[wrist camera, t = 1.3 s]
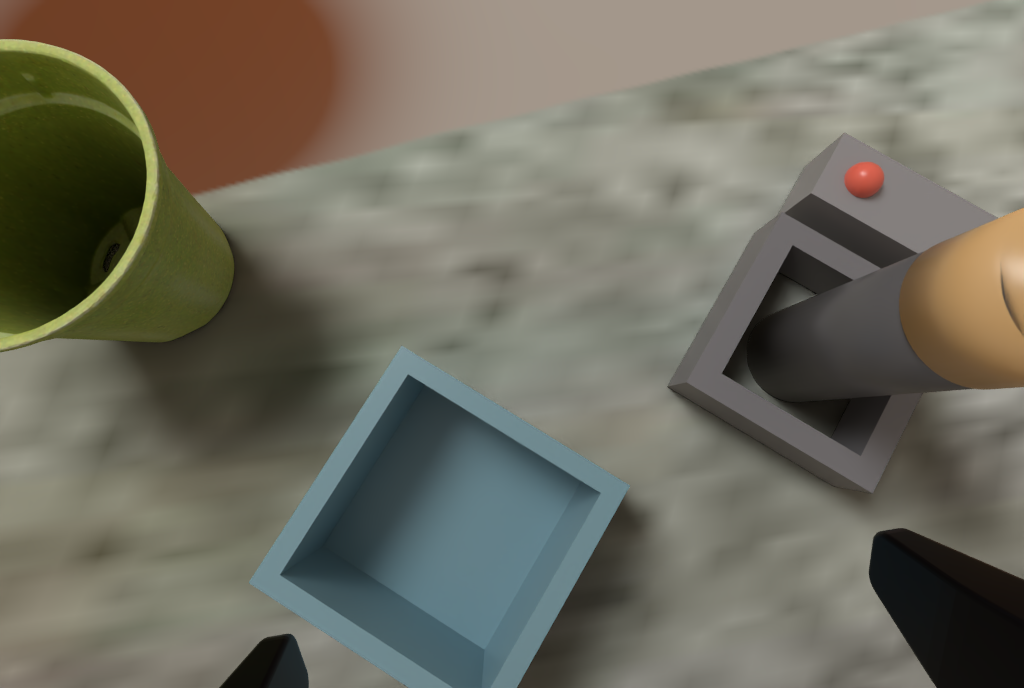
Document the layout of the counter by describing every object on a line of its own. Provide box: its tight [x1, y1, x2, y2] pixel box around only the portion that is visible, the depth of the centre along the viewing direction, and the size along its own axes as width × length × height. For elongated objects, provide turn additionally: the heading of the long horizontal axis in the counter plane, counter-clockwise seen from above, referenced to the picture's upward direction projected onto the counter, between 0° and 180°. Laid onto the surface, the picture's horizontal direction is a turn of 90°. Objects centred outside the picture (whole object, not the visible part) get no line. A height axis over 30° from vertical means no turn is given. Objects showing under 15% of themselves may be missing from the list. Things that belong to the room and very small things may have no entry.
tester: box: [667, 133, 998, 493], centre depth 23 cm, size 8×12×4 cm, turn 149°
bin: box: [249, 346, 630, 688], centre depth 21 cm, size 9×9×5 cm
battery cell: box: [747, 208, 1024, 402], centre depth 18 cm, size 4×4×13 cm
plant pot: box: [0, 39, 234, 352], centre depth 20 cm, size 9×9×9 cm
